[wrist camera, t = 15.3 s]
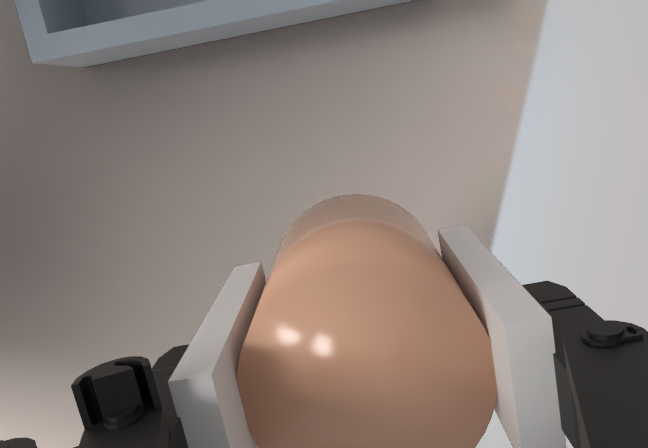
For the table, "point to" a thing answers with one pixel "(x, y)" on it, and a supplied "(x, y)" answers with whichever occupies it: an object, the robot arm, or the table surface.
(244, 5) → the tote
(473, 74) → the table surface
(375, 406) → the peach rounded cylinder
